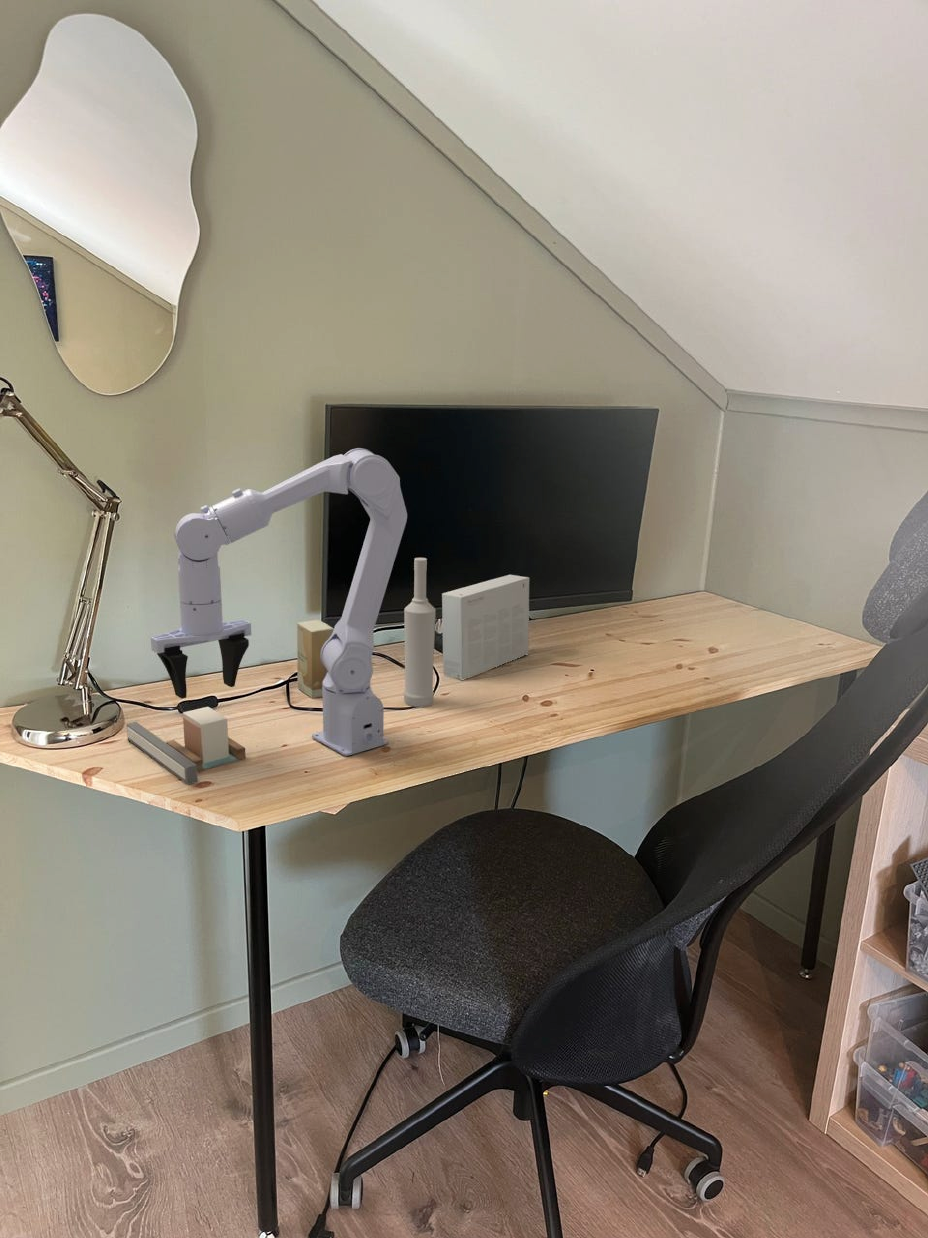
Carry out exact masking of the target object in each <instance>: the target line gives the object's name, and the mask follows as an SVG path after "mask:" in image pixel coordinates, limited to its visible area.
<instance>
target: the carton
mask: <svg viewBox="0 0 928 1238" xmlns="http://www.w3.org/2000/svg"><path fill="white" fill-rule="evenodd" d="M182 720H183V721H182V722H183V723H182V724H183V737H184V738H183V739H184V740H183V741H184V746H185V748H186V749H188V750H189V751H190V752H192V753H193V754H195V755H196V756H198V757H199V758H200V759H202V763H203V764H205V763H208V762H212V761H216V760H219V759H223V758H227V757H229V746H228V737H229V726H228V718H227V717H226V716H224V715H222V714H221V713H219V712H218V711H216V710H214V709H213V708H211V707H209V706H206V707H201V708H196V709H193V710H192V709H191V710H187V711H184V712H182Z"/></svg>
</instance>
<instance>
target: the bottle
mask: <svg viewBox="0 0 928 1238" xmlns="http://www.w3.org/2000/svg"><path fill="white" fill-rule="evenodd" d="M427 560H428V559H427V558H426V557H415V558H414V562H413V564H414V565H413V567H414V568H413V570H414V577H413V578H414V582H413V584H414V585H413V586H414V587H413V591H414V592H413V595H414V596H413V598H412V599H411V602H410V603H408V605H407V606H405V608H404V610H403V611H404V674H405V675H404V680H405V681H404V682H405V684H404V686H405V688H404V689H405V690H404V691H403V701H404V703H405V705H406V706H407V705H408V706H410V707H413V708H415V707H416V708H423V707H428V706H430V705H432V704H433V703H434V702H433V701H434V699H435V698H434V697H435V692H434V690H433V689H434V688H433V685H434V662H435V661H434V660H435V659H434V658H435V656H434V654H435V636H436V635H435V633H436V630H435V629H436V608H435V607H434V606H433V605H432V604H431V603H430V602H429V599H428V598H427V565H428V561H427Z"/></svg>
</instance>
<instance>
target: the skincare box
mask: <svg viewBox="0 0 928 1238" xmlns="http://www.w3.org/2000/svg"><path fill="white" fill-rule="evenodd" d="M296 625H297V626H296V627H297V628H296V629H297V630H296V633H297V635H296V636H297V637H296V639H297V643H296V645H297V647H296V649H297V651H296V653H297V661H296V662H297V688H298V689H299V690H300V691H301V692H302V693H304V694H305V695H306V696H308V697H310V699H315V698H316V699H317V698H323V685H322V682H323V680H324V678H325V677H326V674H327V672H328V670H327V669H326V668H325V667H324V665H323V664H322V661H321V649H322V647H323V645H324V644H325V642H326V641H327V640H328V639H329V638H330V637H331V635H332V633H333V630H334V628H333V627H332V626H331V625H329V624H328V623H325V622H323V621H322V620H320V619H313V620H305V621H299V622H297V624H296Z"/></svg>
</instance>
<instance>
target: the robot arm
mask: <svg viewBox="0 0 928 1238" xmlns="http://www.w3.org/2000/svg"><path fill="white" fill-rule="evenodd" d="M400 480H401V477H400V476H399V474H398V473H397V472H396V470H395V469H394V467H393V466H392V465H391V463H390V462H389V461H388V459H386V458H384V457H383V456H381V455H378V454H374V453H373V451H370V450H369V449H366V448H361V447H357V448H353V449H350V450H349V451H347V452H346V453H345V454H341V453H340V454H337V455H333V456H331V457H329V458H327V459H324V460H322V461H321V462H318V463H316V464H314V465H312V466H311V467H309V468H307V469H305V470H303V471H301V472H299V473H297V474H296V475H294V476H291V477H290V478H287V479H285V480H284V481H282V482H279V483H278V484H276V485H274V486H272V487H270V488H268V489H267V490H265V491H263V492H262V491H257V490H255V489H251V488H248V489H245V490H243V491H242V489H241V488H240V487H239V488H237V489H234V490H233V491H232V492H231V494H232V496H230V497H228V498H226V499H224V500H222V501H219V502H218V503H216V504H213V505H212V506H208V505H207V504H205V505H203V506H201V507H200V508H199V509H200V511H201V513H197V512H191V513H188V514H186V515H184V516H183V517H182V518H181V519H179V521H178V522H177V524H176V526H175V530H174V533H173V537H174V539H175V542H176V544H177V548H178V555H177V563H178V565H179V566H178V568H177V579H178V594H179V609H180V628H178V629H174V630H172V631H168V632H166V633H162V634H159V635H154V636H151V637H150V643H151V646H150V647H151V651H152V652H154V653H156V654H157V656H158V657H159V659H160V661H161V662H162V664H163V665H164V667H165V669H166V671H167V674H168V676H169V678H170V680H171V683H172V687H173V690H174V694H175V696H176V697H178V698H180V699H187V692H188V690H187V679H186V676H187V674H186V673H187V664H188V663H187V662H188V658H189V656H188V655H187V654H185V653H183V649H181V648H185V647H190V646H195V645H199V644H200V645H201V644H205V643H206V644H207V643H210V642H216V641H217V642H218V645H219V650H220V655H221V661H222V662H221V663H222V680H223V685H226V686H228V687H230V688H233V687H235V685H236V681H237V676H238V672H239V668H240V665H241V662H242V660H243V658H244V655H245V653H246V651H247V650H248V648H249V646H250V641H249V639H248V638H246V637H248V636H249V637H250V636H252V623H251V622H250V621H248V620H246V619H241V620H236V621H223V604H222V602H223V600H222V585H221V582H222V581H221V567H220V566H219V557H218V556H219V555H218V552H219V551H220V549H221V546H222V545H223V546H224V545H225V546H228V545H230V544H233V543H235V542H237V541H239V540H241V539H243V538H245V537H247V536H249V535H252V534H253V533H255V532H257V531H260V530H262V529H264V528H266V527H268V525H269V524H270V521H271V519H272V516H273V515H274V514H275V513H277V512H280V511H282V510H284V509H286V508H288V507H291V506H293V505H296V504H298V503H300V502H303V501H305V500H308V499H310V498H313V497H315V496H317V495H319V494H321V493H325V492H328V493H333V494H342V495H348V494H349V491H350V492H351V493H353V494H354V495H355V497H357V498H358V499H359V501H360V503H361V505H362V506H363V508H364V510H365V512H366V513H367V515H368V516H369V518H370V521H369V524H368V527H367V531H366V534H365V538H364V540H363V545H362V548H361V551H360V554H359V558H358V561H357V565H356V567H355V570H354V574H353V578H352V581H351V585H350V588H349V591H348V595H347V598H346V601H345V605H344V608H343V611H342V615H341V618H340V619H339V620H338V621H337V623H336V624H335V625H334V630H333V633H332V635H331V637H330V638H329V639H328V640H327V641H326V642H325V644H324V645H323V647H322V649H321V661H322V664H323V665H324V667H325V668H326V669H327V670H328V672H327V674H326V677H325V678H324V680H323V682H322V685H323V696H322V731H319V732H316V733H312V734H311V738H313V739H314V740H316V741H318V742H319V743H322V744H323V745H325V746H327V747H329V748H330V749H332V750H334V751H335V752H338V753H339V754H340V755H343V756H345V757H347V756H348V757H349V756H351V755H355V754H358V753H361V752H364V751H368V750H371V749H374V748H379V747H381V746H385V745H388V743H389V740H388V739H387V738H384V733H385V732H384V727H385V726H384V723H385V722H384V719H385V717H384V713H385V712H384V704H383V703H382V701H381V699H380V698H379V697H378V696H377V695H375V694H374V692H373V690H372V686H371V680H372V678H373V672H374V667H373V661H372V659H373V657H372V656H373V652H374V649H375V644H374V643H375V641H374V638H375V637H374V629H375V626H376V624H377V621H378V616H379V613H380V609H381V606H382V604H383V603H382V602H383V599H384V597H385V594H386V590H387V586H388V583H389V580H390V577H391V573H392V570H393V566H394V562H395V560H396V557H397V554H398V551H399V547H400V545H401V540H402V537H403V534H404V531H405V528H406V524H407V519H408V512H407V507H406V505H405V500H404V496H403V492H402V488H401V481H400Z"/></svg>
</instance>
